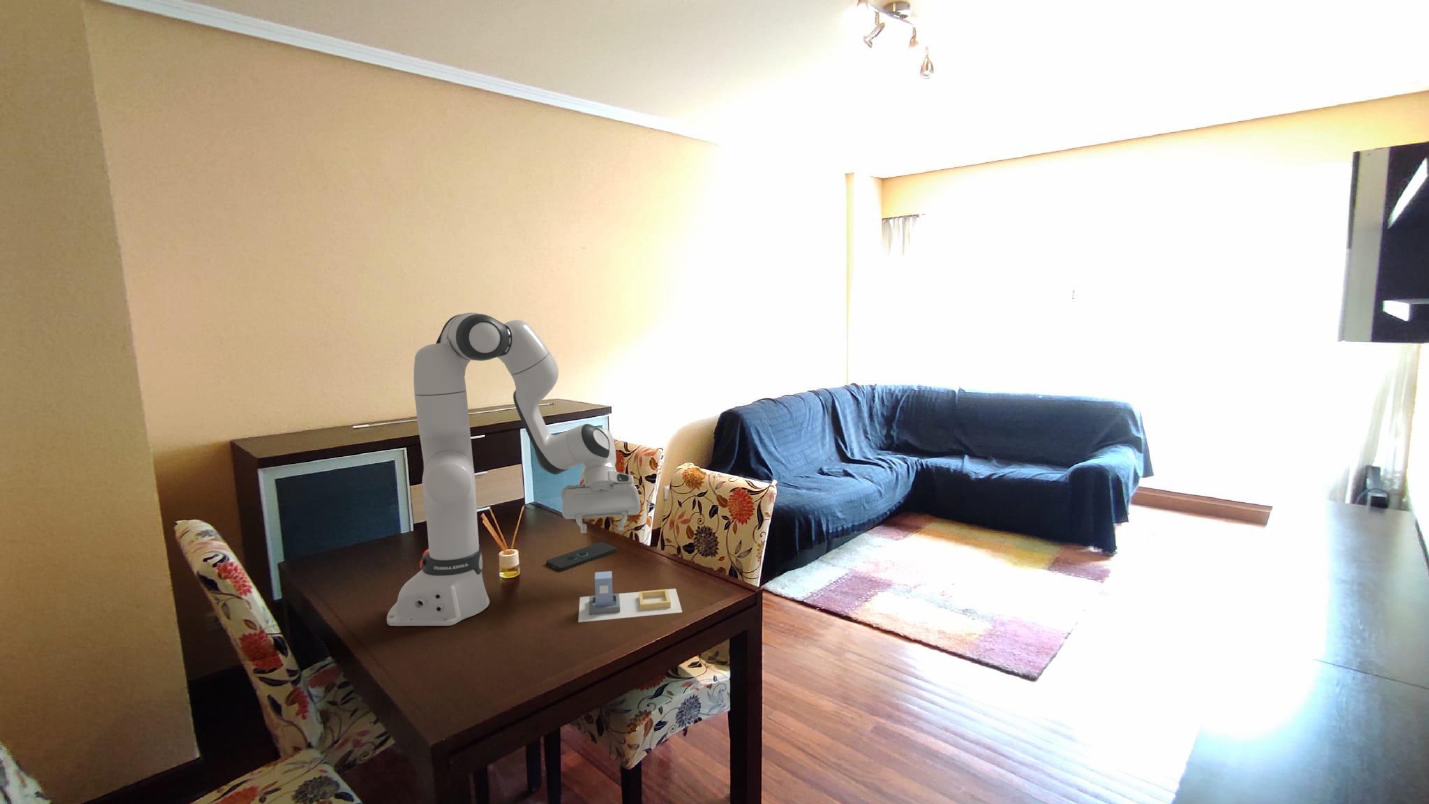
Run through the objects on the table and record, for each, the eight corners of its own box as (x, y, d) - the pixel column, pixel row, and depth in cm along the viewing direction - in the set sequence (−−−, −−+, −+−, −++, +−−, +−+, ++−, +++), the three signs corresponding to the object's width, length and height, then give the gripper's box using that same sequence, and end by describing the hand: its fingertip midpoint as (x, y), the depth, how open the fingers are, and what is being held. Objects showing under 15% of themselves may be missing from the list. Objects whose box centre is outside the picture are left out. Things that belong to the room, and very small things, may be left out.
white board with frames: (578, 624, 142) (578, 616, 141) (580, 599, 154) (579, 591, 154) (682, 614, 146) (682, 606, 146) (675, 590, 159) (675, 583, 158)
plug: (596, 612, 146) (594, 580, 145) (596, 603, 151) (595, 572, 150) (613, 610, 147) (612, 578, 146) (612, 602, 151) (611, 571, 150)
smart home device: (544, 560, 177) (601, 541, 191) (545, 565, 177) (601, 546, 191) (561, 567, 171) (618, 547, 186) (561, 573, 171) (618, 553, 186)
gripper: (560, 480, 163) (559, 528, 155) (638, 475, 166) (642, 522, 158) (562, 491, 168) (561, 539, 160) (638, 487, 171) (641, 533, 163)
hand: (602, 530), depth 159 cm, fingers open, 8 cm apart
